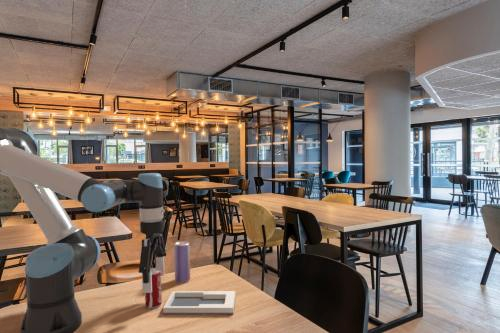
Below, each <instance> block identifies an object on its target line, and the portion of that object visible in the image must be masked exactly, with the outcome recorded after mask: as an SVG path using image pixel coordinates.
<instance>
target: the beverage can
mask: <svg viewBox="0 0 500 333" xmlns="http://www.w3.org/2000/svg"><path fill="white" fill-rule="evenodd" d="M173 248H174V251H173V252H174V280H175V282H176V283H178V284H183V283H188V282H189V281H190V279H191V245H190V242H189V241H186V240H185V241H183V240H182V241H177V242H175V243H174V247H173Z"/></svg>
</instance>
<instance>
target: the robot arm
mask: <svg viewBox="0 0 500 333" xmlns="http://www.w3.org/2000/svg"><path fill="white" fill-rule="evenodd" d="M39 150H40V146H39V142H38V141H37V138H36V137H34V135H33V134H32V133H30V132H29V131H27V130H23V129H20V128H15V127H1V126H0V175H1V176H5V177H8V178H9V179H10V181H11V183H12V184H13V186H14V187H15V190H16V191H17V192H18V194H19V196H20V197H21V199H22V200H23V203H24V204H25V205H26V207H27V209H28V210H29V212H30V213H31V215H32V218H34V220H35V222H36V225H38V226H39V228H40V230H41V231H42V233H43V235H44V237H45V238H46V240H47V242H46V245H44V246H43V245H42V246H40V247H37V248H35V249H33V250H32V251H31V252H30V253H29V254H28V255H27V256H26V259H25V267H24V272H25V284H26V285H25V286H26V288H25V289H26V310H25V314H24V317H23V319H22V322H21V325H20V328H19V333H74V332H75V331H77V330H78V329H79V328H80V327H81V325H82V323H83V319H82V318H83V315H82V312H81V309H80V307H79V305H78V302H77V300H76V297H75V280H77V279H79V277H81V276H83V275H84V274H85V273H87V272H88V271H90V270H91V269H92V268H94V267H95V265H96V264H97V263H98V261H99V259H100V256H101V246H100V244H99V241H98V240H97V239H96V238H95V237H93V236H91V235H88V234H86V232H85V230H84V229H83V227H78V226H76V225H75V223H73V221H72V220H71V217H70V216H69V214H68V213H67V211H66V210H65V208H64V206H63V204H62V203H61V202H60V199H59V198H58V197H57V195H56V194H59V195H62V196H64V197H67V198H69V199H71V200H74V201H76V202H79V203H81V204H82V207H84V208H85V209H86V210H87V211H89V212H90V213H91V212H92V213H99V212H100V213H101V212H104V211H107V210H109V209H111V208H113V207H115V206H116V207H117V206H119V205H121V204H129V203H132V204H133V203H136V204H137V203H138V206H139V209H138V210H139V220H140V222H139V229H140V230H139V231H140V234H143V235H145V238H144V239H141V251H140V259H139V268H138V273H139V274H141V280H142V282H141V283H142V284H141V285H142V293H143V294H145V293H152V274H151V271H150V269H151V268H152V263H153V262H152V261H153V257H154V253H155V255H156V257H155V268H159V269H160V272H161V277H163V276H164V277H165V260H164V259H165V257H167V251H166V246H165V241H164V237H163V232H164V230H165V223H164V222H165V221H164V213H165V212H166V210H165V209H164V186H163V177H162V175H161V173H158V172H148V173H147V172H146V173H145V172H144V173H139V174H138V177H137V179H110V180H104V181H101V180H98V179H96V178H93V177H91V176H89V175H86V174H84V173H81V172H78V171H76V170H74V169H72V168H69V167H66V166H64V165H61V164H59V163H56V162H53V161H51V160H48V159H46V158H44V157H41V156H39Z"/></svg>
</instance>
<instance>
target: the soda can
mask: <svg viewBox="0 0 500 333" xmlns="http://www.w3.org/2000/svg"><path fill="white" fill-rule="evenodd" d="M150 271H151V274H152V293H144V305H145V307H146V308H147V309H148V310H154V309H155V310H156V309H158V308H160V307H161V305H162V302H163V301H162V276H161V272H160V269H159V268H156V267H151V269H150Z"/></svg>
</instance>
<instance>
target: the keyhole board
mask: <svg viewBox="0 0 500 333" xmlns="http://www.w3.org/2000/svg"><path fill="white" fill-rule="evenodd" d="M235 304H236V291H235V290H229V291H228V290H227V291H226V290H215V291H214V290H208V291H207V290H199V291H198V290H194V291H193V290H187V291H186V290H178V291H177V290H173V291H172V292H171V293H170V295H169V297H168V299H167V301H166V302H165V304H164V306H162V308H163V310H162V311H163V312H162V315H165V316H167V315H168V316H170V315H172V316H174V315H175V316H176V315H179V316H181V315H183V316H185V315H188V316H190V315H193V316H194V315H195V316H196V315H197V316H198V315H201V316H203V315H205V316H206V315H211V316H212V315H216V316H217V315H223V316H224V315H225V316H226V315H227V316H229V315H231V316H233V315H234V311H235Z"/></svg>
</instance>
